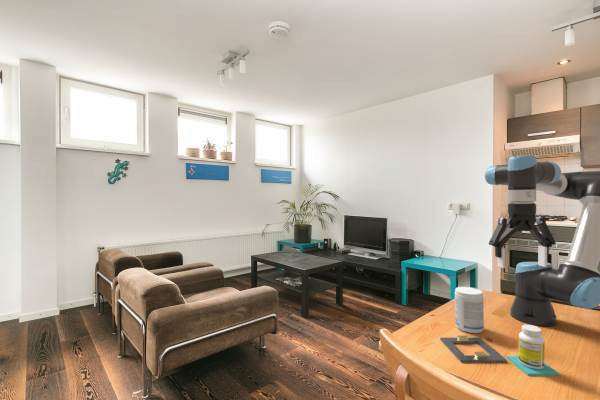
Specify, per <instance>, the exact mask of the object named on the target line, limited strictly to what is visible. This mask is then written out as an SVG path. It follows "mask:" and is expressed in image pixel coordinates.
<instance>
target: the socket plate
mask: <svg viewBox="0 0 600 400" xmlns="http://www.w3.org/2000/svg"><path fill="white" fill-rule="evenodd" d="M439 341H441V343H442V344H444V346H446V348H447V349H448V350H449V351H450V352H451V354H452V355H454V356H455V358H456V359H457V360H458V362H460V363H508V359H507V358H506V357H504V356H503V355H502V354H501V353H499V352H498V351H497V350H496V349H494V348H493V347H492V345H489V343H488V342H486V341H485V340H484V339H482V338H481V337H469V336H467V335H457V337H440V340H439ZM456 344H477V345H478V346H479V347H480V348H482V349H483V350H484V351H474V355H468V354H464V353H463V352H462V350H461V349H460V348H459V347H457V346H456Z"/></svg>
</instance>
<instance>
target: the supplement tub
mask: <svg viewBox="0 0 600 400" xmlns="http://www.w3.org/2000/svg"><path fill="white" fill-rule="evenodd" d="M484 310H485V309H484V292H483V290H481V289H478V288H476V287H469V286H457V287H455V289H454V320H455V323H454V324H455V327H456V328H457V329H459V330H460V331H463V332H465V333H470V334H479V333H482V332H483V331H484V327H485V325H484V323H485V322H484V321H485V320H484V319H485V318H484V317H485V315H484V314H485V313H484Z"/></svg>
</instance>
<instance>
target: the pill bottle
mask: <svg viewBox="0 0 600 400" xmlns="http://www.w3.org/2000/svg"><path fill="white" fill-rule="evenodd" d="M542 333H543V332H542V328H540V327H539V326H537V325H534V324H523V325H521V331H520V332H519V333H518V356H519V361H520V363H522V364H523V365H525V366H526V367H529V368H532V369H542V368H544V363H545V349H546V348H545V338H544V337H543V336H542Z"/></svg>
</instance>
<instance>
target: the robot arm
mask: <svg viewBox="0 0 600 400" xmlns="http://www.w3.org/2000/svg"><path fill="white" fill-rule="evenodd" d="M561 169H562V168H561V166H560V165H558V164H557V163H555V162H553V161H548V160H547V161H537V157H536V155H534V154H523V155H513V156H510V157H509V158H508V159H507V164H496V165H491V166H489V167H487V168H486V170H485V172H484V179H485V181H486V183H487V184H489V185H492V186H499V185H501V186H507V202H508V204H507V213H508V218H506V217H498V221H497V225H496V227H495V229H494V231H493V233H492V235H491V238H490V240H489V242H488V245H489V246H493V247H494V255H495V257H496V258H497V259H496V261H497V262H496V265H497V267H499V268H502V269H506V249H505V248H506V247H504V246H505V245H506V243H507V242H508V241H509V240H510V238H511V237H513V235H514V234H515V233H517V232H524V231H525V232H529V233H530V234H531V235H532V236H533V237H534V239H535V240H536V241H537V243H539V244H540V245H538V247H537V248H538V249H537V250H538V251H537V254H538V255H537V261H522V262H518V263H517V264H516V267H515V297H514V299H513V302H512V304H511V306H510V308H509V309H510V310H509V314H510V316H511V317H512V318H514V319H515V320H517V321H519V322H523V323H527V324H528V325H533V326H542V327H551V326H552V327H553V326H556V325H557V322H558V321H557V320H558V319H557V314H556V312H555V310H554V309H555V308H554V306H553V304H552V300H555V301H558V302H561V303H563V304H564V303H565V304H568V305H572V306H574V307H576V308H577V307H579V308H583V309H587V310H588V309H595V308H596V307H598V306H600V270H598V268H599V264H600V170H590V171H589V170H588V171H586V170H585V171H571V172H562V170H561ZM537 191H539V192H543V193H544V194H546V195H549V196H554V197H558V198H561V199H562V198H563V199H568V200H577V201H579V203H580V204H582V205H583V206H582V208H581V212H580V215H579V218H578V221H577V225H576V227H575V231H574V235H573V238H572V240H571V241H572V242H571V245H570V247H569V251H568V255H567V258H566V260H565V261H562V262H561V263H559V266H558V268H557V269H556V268H554V267H553V264H552V263H550V262H548V257H549V256H550V248H552V247H553V246H554V245H556V243H557V242H556V240H555V238H554V236H553V234H552V232H551V230H550V229H549V227H548V224H547V221H546V219H547V218H546V217H545V216H536V214H537V204H536V203H535V202H536V201H537ZM535 224H536V225H537V227H538V228H537V227H536V225H535ZM507 225H508V226H507Z"/></svg>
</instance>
